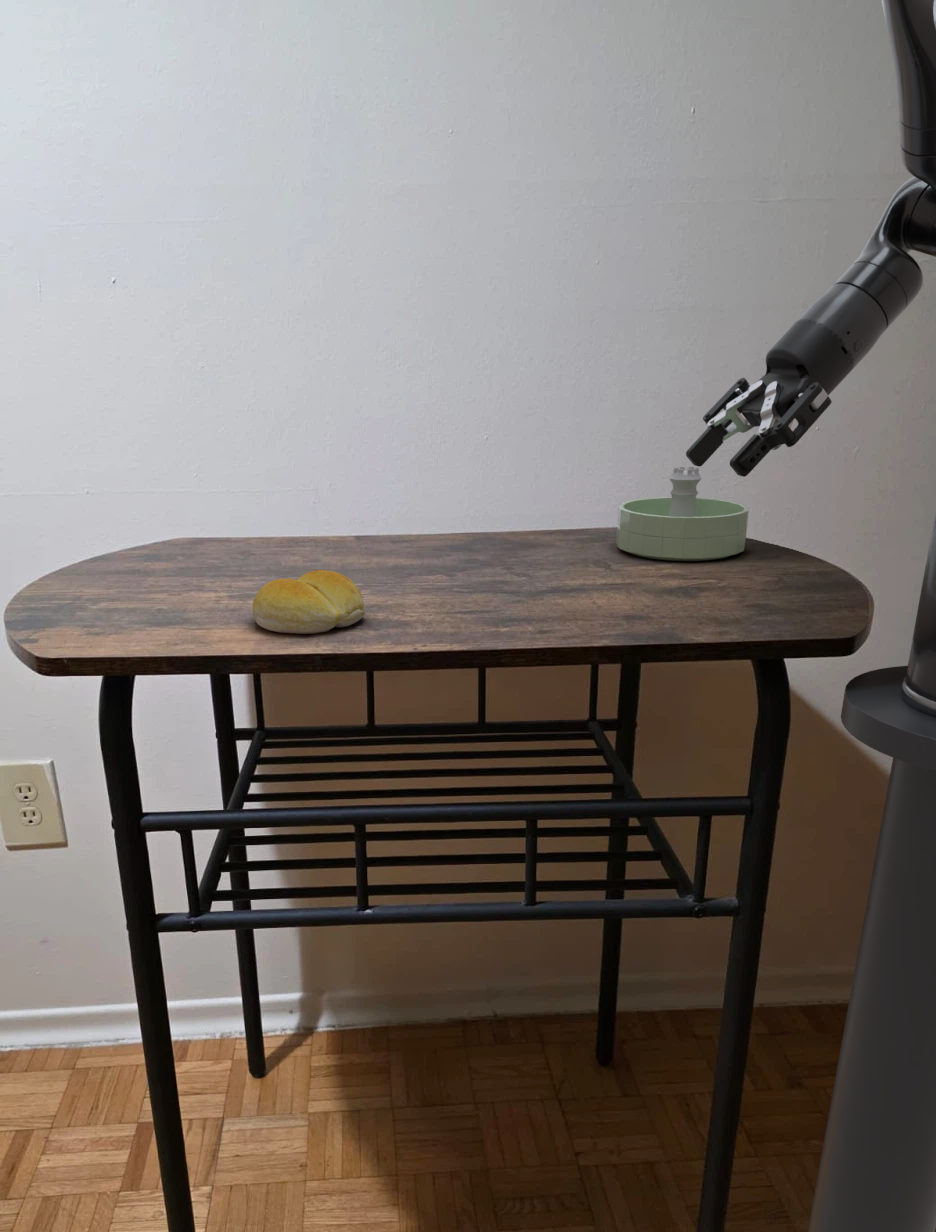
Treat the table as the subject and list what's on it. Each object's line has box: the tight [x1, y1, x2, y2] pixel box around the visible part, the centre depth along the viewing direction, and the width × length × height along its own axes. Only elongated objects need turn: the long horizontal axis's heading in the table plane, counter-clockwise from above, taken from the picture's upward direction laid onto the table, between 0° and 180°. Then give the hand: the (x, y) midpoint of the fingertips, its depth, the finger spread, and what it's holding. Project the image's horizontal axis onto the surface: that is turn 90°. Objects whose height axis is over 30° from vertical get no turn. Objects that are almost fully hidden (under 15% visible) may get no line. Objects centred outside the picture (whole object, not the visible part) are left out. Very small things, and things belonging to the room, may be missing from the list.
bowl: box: [615, 496, 750, 562], centre depth 102 cm, size 13×13×4 cm
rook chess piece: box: [668, 466, 703, 517], centre depth 101 cm, size 4×4×8 cm
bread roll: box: [252, 569, 366, 635], centre depth 79 cm, size 8×9×4 cm
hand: (713, 465), depth 100 cm, fingers open, 8 cm apart
